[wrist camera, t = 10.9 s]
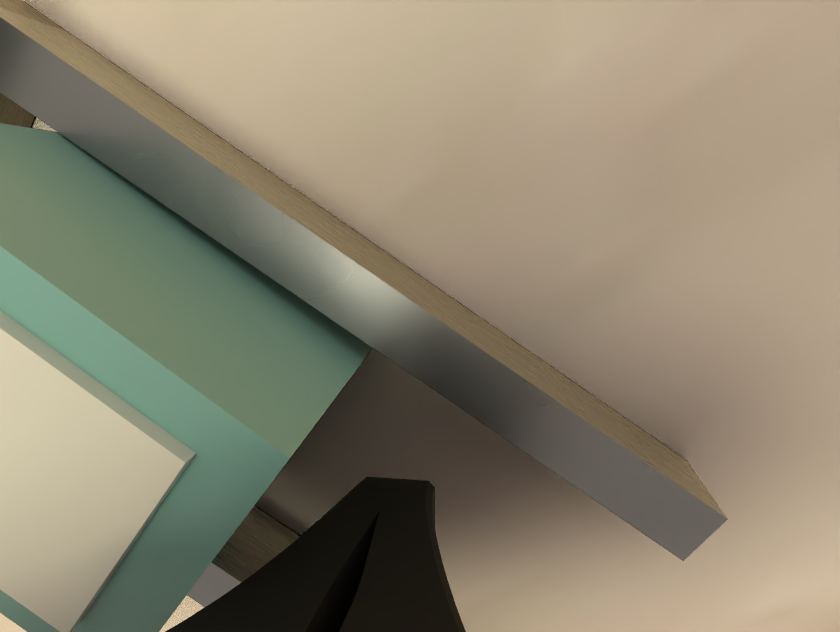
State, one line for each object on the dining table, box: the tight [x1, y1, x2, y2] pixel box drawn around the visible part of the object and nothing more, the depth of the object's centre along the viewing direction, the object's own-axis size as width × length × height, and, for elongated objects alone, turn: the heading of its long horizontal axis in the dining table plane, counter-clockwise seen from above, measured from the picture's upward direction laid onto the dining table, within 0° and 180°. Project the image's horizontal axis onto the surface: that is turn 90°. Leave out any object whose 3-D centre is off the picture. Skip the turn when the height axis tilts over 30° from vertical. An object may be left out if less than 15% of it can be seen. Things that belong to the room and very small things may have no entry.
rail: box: [0, 0, 727, 607], centre depth 9 cm, size 15×7×3 cm, turn 56°
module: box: [0, 123, 373, 632], centre depth 8 cm, size 6×4×5 cm, turn 53°
